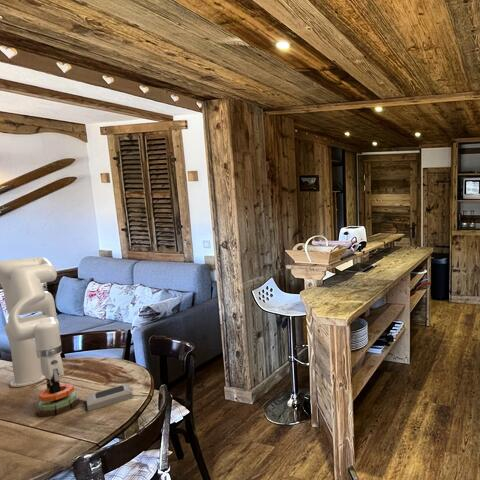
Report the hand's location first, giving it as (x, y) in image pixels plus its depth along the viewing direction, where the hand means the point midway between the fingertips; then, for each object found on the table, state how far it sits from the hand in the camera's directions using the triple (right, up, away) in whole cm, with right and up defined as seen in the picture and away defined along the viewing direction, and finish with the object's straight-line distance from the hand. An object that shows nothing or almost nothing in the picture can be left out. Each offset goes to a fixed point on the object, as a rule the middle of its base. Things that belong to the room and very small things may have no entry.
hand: (54, 391), depth 151 cm
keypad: (+20, -6, +5) cm, 21 cm away
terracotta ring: (+3, 0, -2) cm, 4 cm away
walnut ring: (+3, -6, -1) cm, 7 cm away
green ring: (+3, -4, -1) cm, 5 cm away
